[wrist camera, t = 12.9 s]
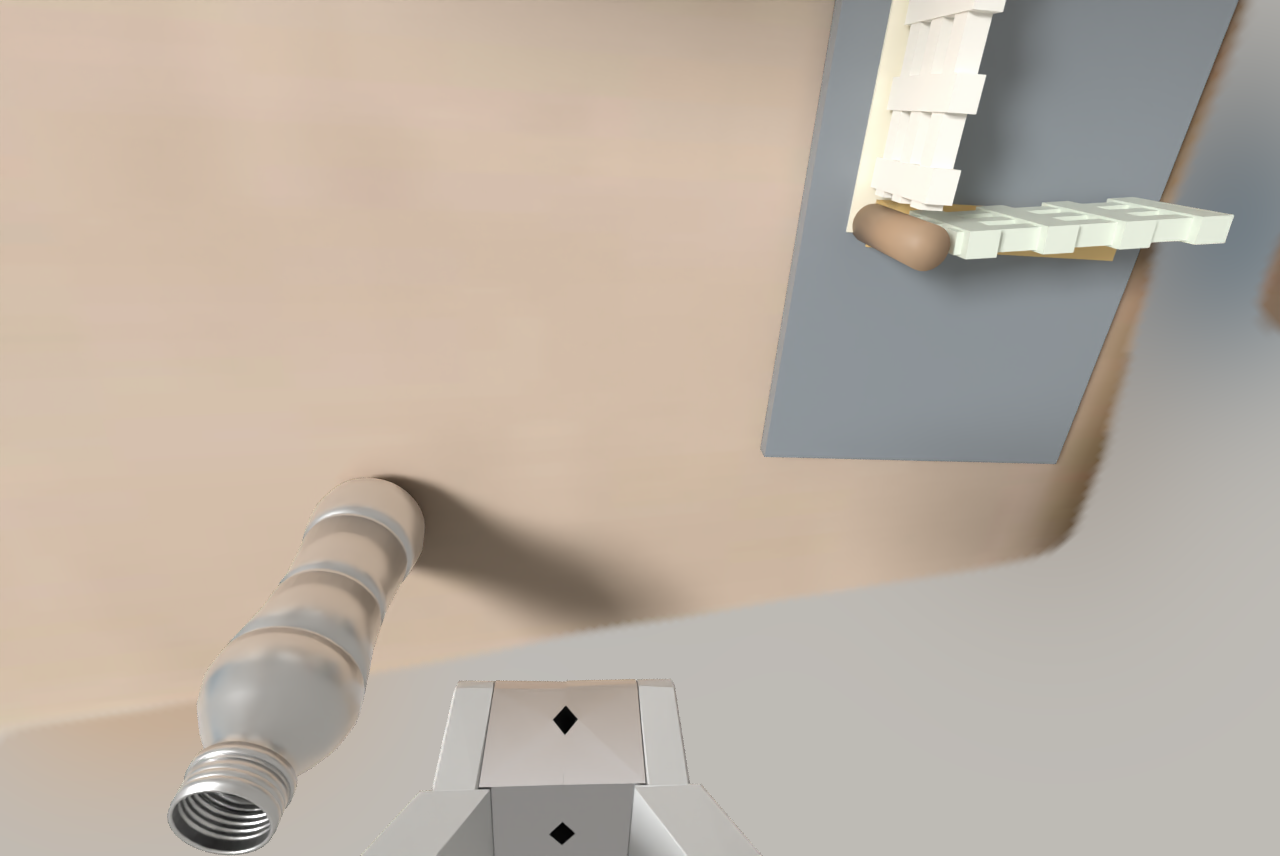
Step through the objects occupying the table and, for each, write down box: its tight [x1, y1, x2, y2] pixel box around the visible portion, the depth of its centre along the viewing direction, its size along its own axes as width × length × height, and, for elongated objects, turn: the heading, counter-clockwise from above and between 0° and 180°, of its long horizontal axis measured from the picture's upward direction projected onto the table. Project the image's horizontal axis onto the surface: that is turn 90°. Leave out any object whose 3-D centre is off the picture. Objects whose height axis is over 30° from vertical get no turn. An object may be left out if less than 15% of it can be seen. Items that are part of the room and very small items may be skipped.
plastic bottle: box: [167, 478, 425, 855], centre depth 32 cm, size 6×7×20 cm
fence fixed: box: [852, 0, 1006, 271], centre depth 29 cm, size 15×2×6 cm, turn 176°
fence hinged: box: [908, 197, 1234, 259], centre depth 32 cm, size 12×1×6 cm, turn 93°
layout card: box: [761, 0, 1238, 464], centre depth 36 cm, size 28×19×1 cm
